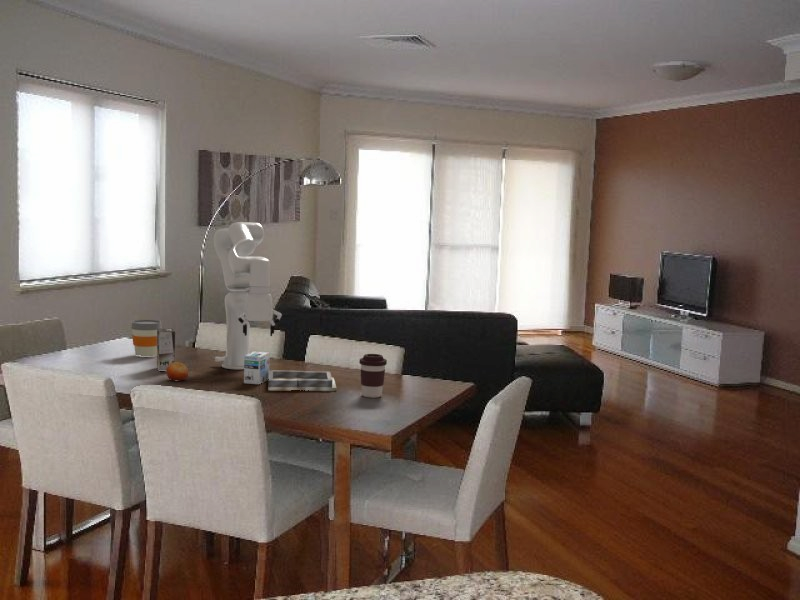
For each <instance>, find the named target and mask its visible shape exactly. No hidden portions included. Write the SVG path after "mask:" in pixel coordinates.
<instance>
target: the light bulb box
mask: <svg viewBox="0 0 800 600" xmlns="http://www.w3.org/2000/svg"><path fill="white" fill-rule="evenodd" d="M270 360H271V359H270V352H268V351H267V352H266V351H265V352H264V351H255V350H253V351H252V352H249V354H247V355H245V356H244V369H243V371H244V372H243V374H244V375H243V384H251V385H259V384H260V385H262V384H263V383H265V382H267V381H269V380H268V379H269V370H270ZM261 383H262V384H261Z"/></svg>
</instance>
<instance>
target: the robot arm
mask: <svg viewBox="0 0 800 600" xmlns="http://www.w3.org/2000/svg"><path fill="white" fill-rule="evenodd" d="M264 239H265V230H264V227H263V226H262V224H260V223H259V222H251V221H250V222H249V221H247V222H245V221H237V222H233V223H231V224H230V225H229V226H228V228H227V227H226V228H220V229H218V230H216V231H215V233H214V236H213V244H214V250H215V252H216V255H217V257H218V259H219V261H220V263H221V266H222V267H221V268H222V274H223V279H224V285H225V288H226V289H227V290H228V291H229V292H228V293H227V294H226V295H225V297H224V306H225V307H224V308H225V315H226V317H225V318H226V332H225V335H226V336H225V337H226V341H225V351H226V352H225V355H223V356H214V361H215V362H218V363H222V364H221V367H222V368H224V369H227V370H228V369H229V370H244V356H245V355H247V354H250V348H251V347H250V346H251V345H250V342H251V341H250V340H251V338H250V336H251V325H250V322H251V321H252V322H269V323H270V330H269V331H270V332H269V333H270V334H269V335H270V337H272V336H273V335H274V334H275V325H277V324H278V323H279V321H280V320H281V318H282V316H283V314H282V313H281V312H279V311H277V310H275V309H273V297H272V294H270V285H271V284H270V282H271V280H270V279H271V276H270V275H271V262H270V260H269V259H268V258H266V257H264V256H251V255H252V254H253V253H254V251H255V250H256V247H257V246H259V245H260V244H262V242H263V240H264ZM244 315H245V316H244ZM273 315H276V316H277V317H276V319H273ZM249 321H250V322H249Z"/></svg>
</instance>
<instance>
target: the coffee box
mask: <svg viewBox="0 0 800 600" xmlns="http://www.w3.org/2000/svg"><path fill="white" fill-rule="evenodd" d="M175 349H176V331H175V330H174V328H169V327H168V328H162V329H157V357H156V369H157V368H158V369H157V371H158V370H166V369H167V367H168V366H169V364H171V363H173V362H176V361H175V357H176V355H175V353H176V350H175Z"/></svg>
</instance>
